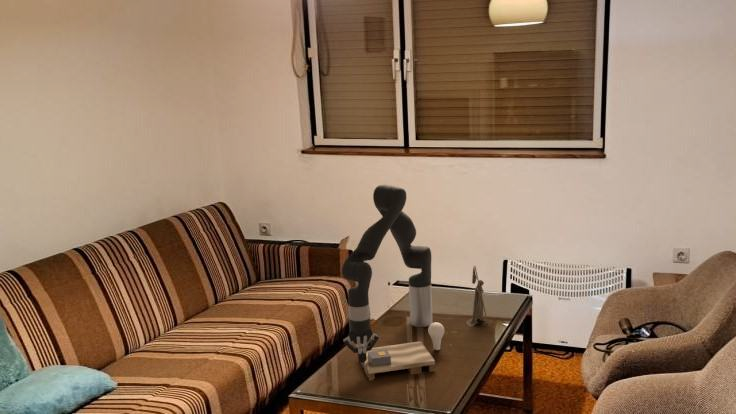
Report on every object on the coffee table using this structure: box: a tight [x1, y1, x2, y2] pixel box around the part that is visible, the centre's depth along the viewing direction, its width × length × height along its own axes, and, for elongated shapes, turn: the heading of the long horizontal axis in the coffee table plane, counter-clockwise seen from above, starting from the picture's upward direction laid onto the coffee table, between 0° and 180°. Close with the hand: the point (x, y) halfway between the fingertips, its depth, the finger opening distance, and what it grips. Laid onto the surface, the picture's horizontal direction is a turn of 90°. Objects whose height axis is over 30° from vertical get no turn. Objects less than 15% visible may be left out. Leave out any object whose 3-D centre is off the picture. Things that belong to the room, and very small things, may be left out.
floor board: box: [360, 340, 436, 381], centre depth 260 cm, size 18×24×4 cm
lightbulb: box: [427, 321, 445, 351], centre depth 270 cm, size 6×6×11 cm
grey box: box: [368, 350, 391, 367], centre depth 254 cm, size 6×7×3 cm
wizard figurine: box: [466, 265, 489, 327], centre depth 293 cm, size 10×8×25 cm
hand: (362, 362), depth 253 cm, fingers closed
